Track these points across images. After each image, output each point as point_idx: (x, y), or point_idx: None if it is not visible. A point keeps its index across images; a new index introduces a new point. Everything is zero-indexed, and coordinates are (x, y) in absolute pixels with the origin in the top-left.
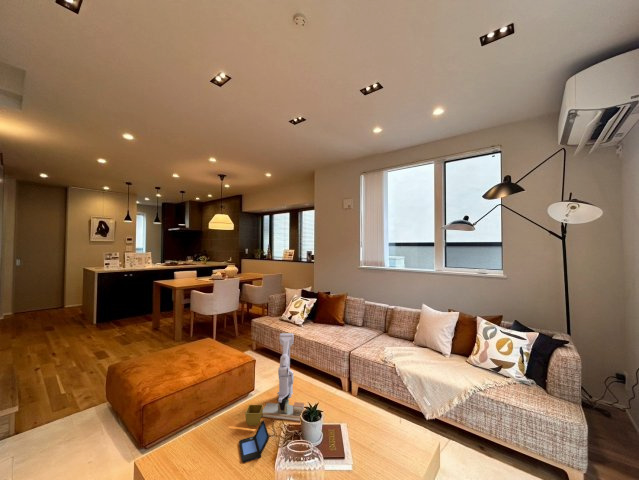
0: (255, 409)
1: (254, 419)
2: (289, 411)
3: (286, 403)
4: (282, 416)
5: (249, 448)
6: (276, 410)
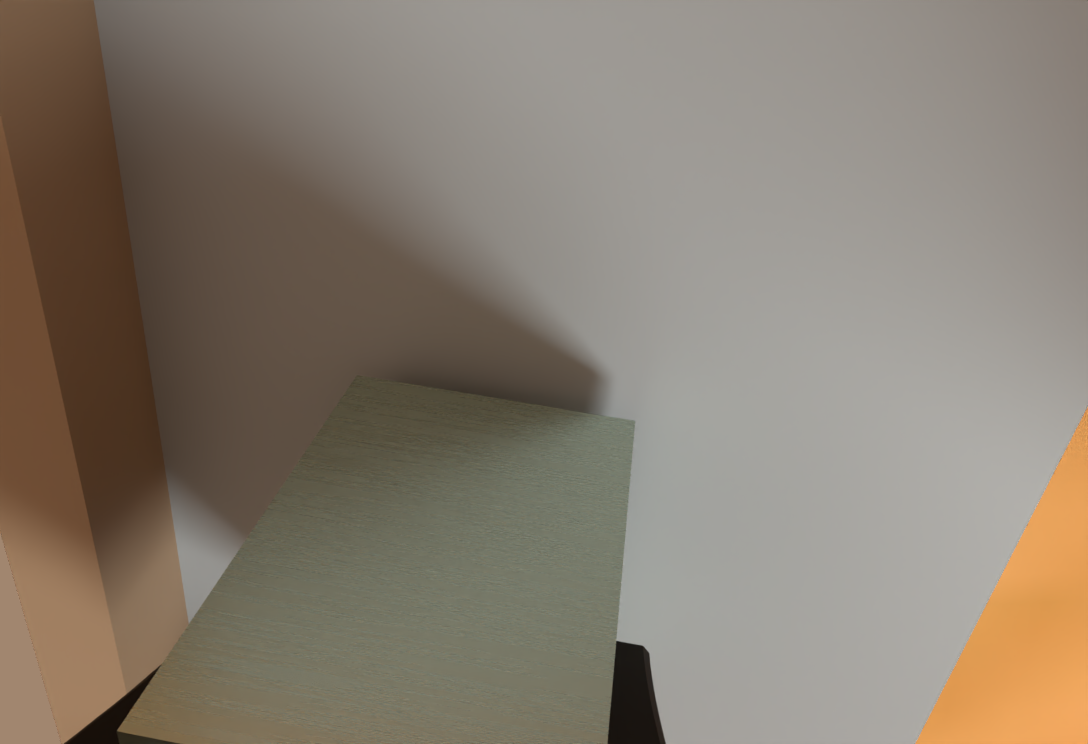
0: None
1: None
2: None
3: None
4: (38, 601)
5: None
6: (561, 261)
